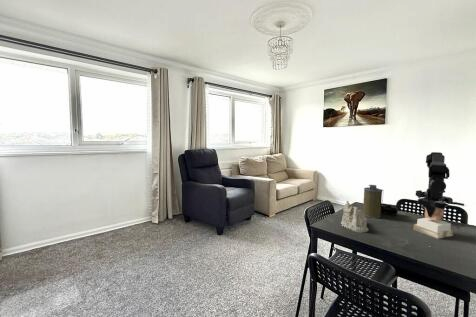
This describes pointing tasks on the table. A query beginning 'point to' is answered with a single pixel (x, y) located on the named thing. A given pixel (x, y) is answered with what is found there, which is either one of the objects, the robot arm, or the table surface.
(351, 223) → the ceramic cottage
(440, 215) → the terracotta cube
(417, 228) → the birch base slab
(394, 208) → the end cap
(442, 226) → the cream top slab
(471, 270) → the table surface
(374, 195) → the canister
